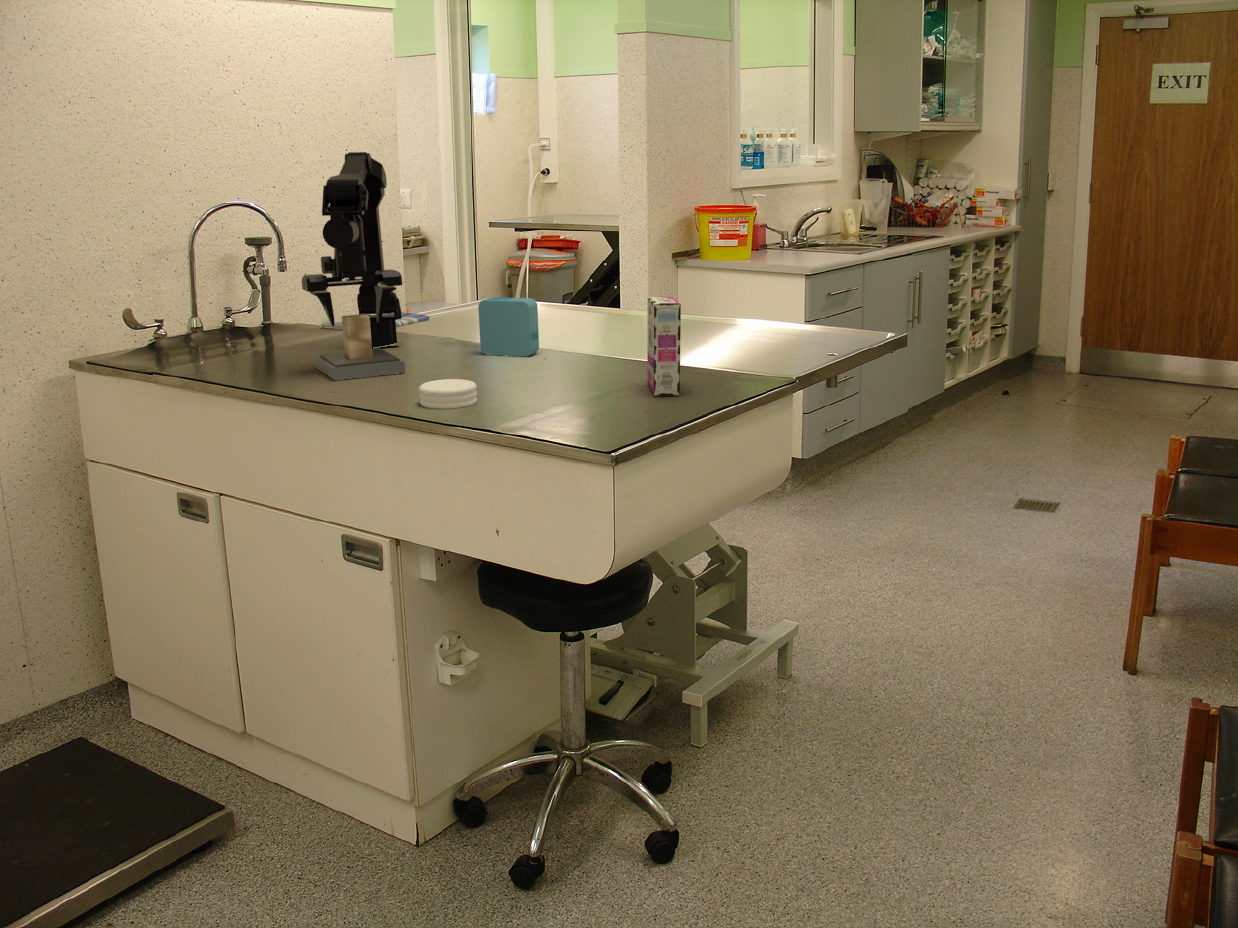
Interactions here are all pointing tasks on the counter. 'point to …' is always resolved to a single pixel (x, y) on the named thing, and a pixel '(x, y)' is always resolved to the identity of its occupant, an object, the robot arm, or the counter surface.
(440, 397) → the coaster
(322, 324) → the dish towel
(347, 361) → the plate
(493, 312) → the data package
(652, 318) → the candy bar box
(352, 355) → the oak block
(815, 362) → the counter surface
